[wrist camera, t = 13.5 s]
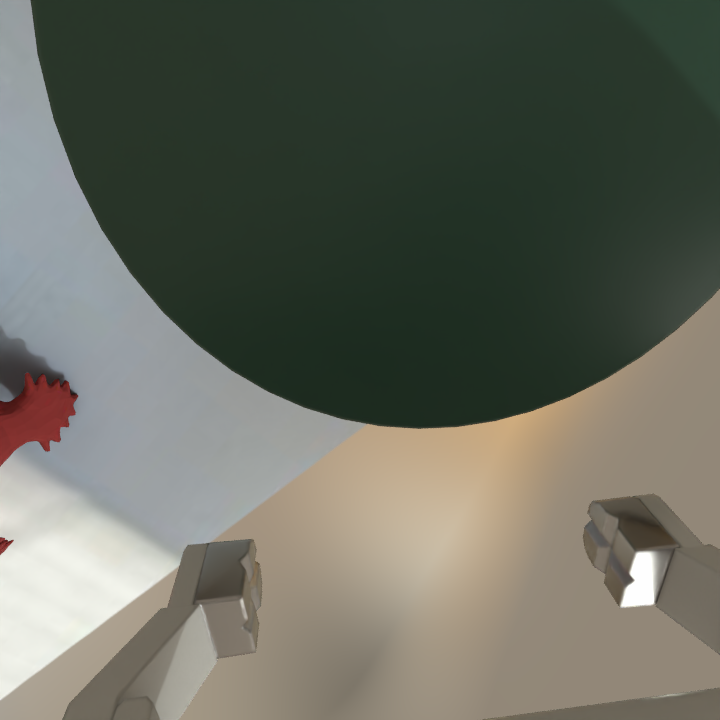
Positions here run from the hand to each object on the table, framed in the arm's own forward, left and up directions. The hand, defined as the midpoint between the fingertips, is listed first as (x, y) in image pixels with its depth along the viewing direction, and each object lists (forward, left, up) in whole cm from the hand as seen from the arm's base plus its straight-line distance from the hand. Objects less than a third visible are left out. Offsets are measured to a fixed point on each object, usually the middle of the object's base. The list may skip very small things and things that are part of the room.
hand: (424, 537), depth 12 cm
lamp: (+9, 0, -24) cm, 25 cm away
